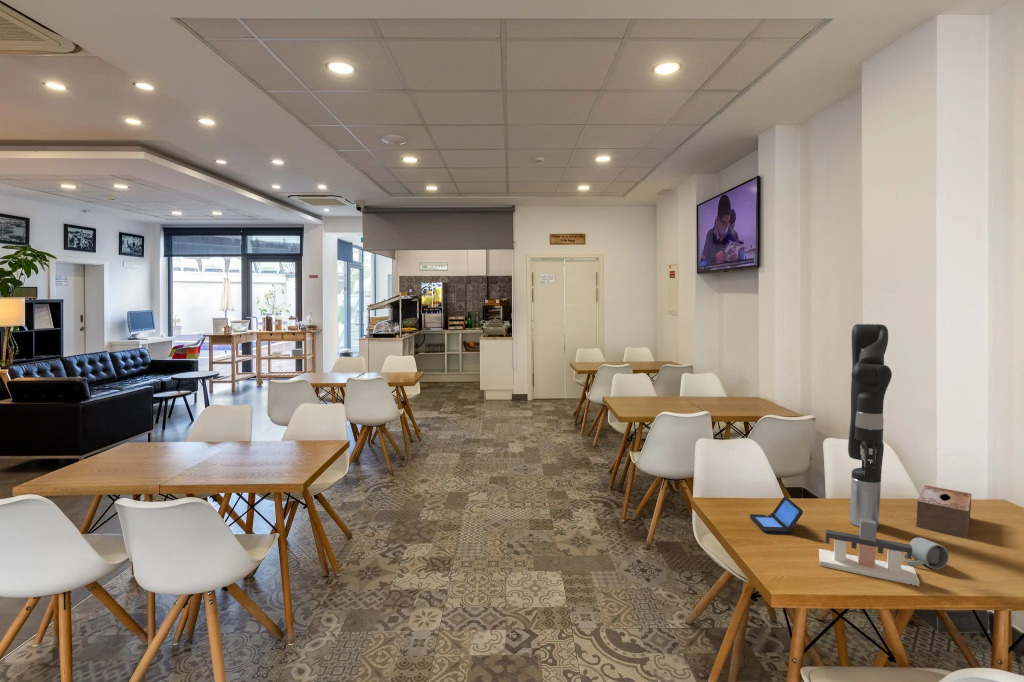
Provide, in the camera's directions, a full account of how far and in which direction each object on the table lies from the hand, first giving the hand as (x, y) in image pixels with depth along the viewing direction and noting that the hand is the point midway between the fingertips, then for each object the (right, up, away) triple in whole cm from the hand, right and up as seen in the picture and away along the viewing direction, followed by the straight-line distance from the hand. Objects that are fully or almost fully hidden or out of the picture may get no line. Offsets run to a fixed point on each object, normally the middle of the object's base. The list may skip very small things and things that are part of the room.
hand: (867, 474), depth 172 cm
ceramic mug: (+15, -27, -5) cm, 31 cm away
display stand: (-6, -27, -8) cm, 29 cm away
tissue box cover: (+49, -26, +30) cm, 63 cm away
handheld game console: (-18, -26, +25) cm, 40 cm away
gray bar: (-6, -21, -8) cm, 23 cm away
